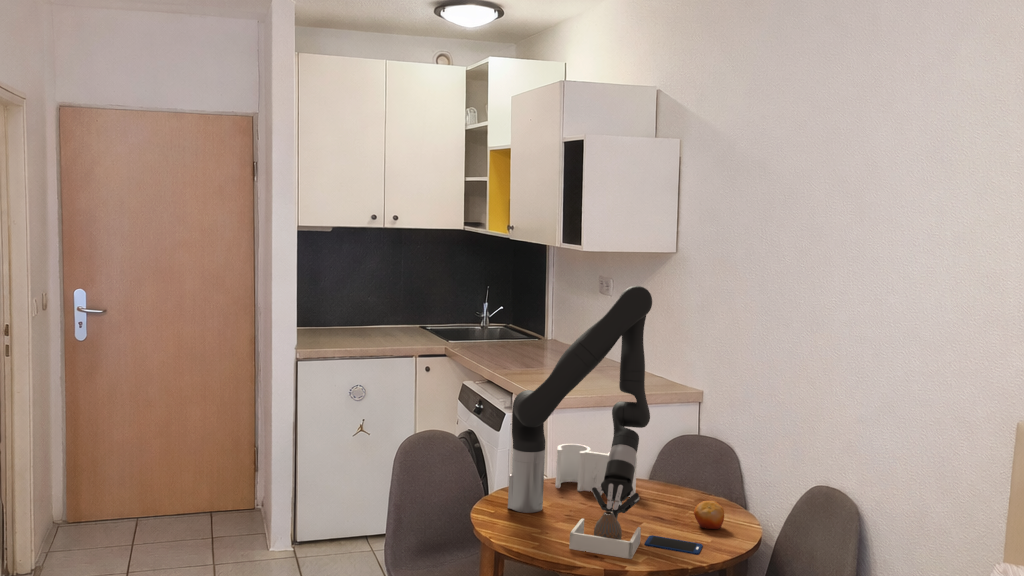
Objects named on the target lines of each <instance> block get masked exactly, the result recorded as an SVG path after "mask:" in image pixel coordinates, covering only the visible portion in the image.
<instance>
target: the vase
mask: <svg viewBox="0 0 1024 576" xmlns="http://www.w3.org/2000/svg"><path fill="white" fill-rule="evenodd" d="M622 531H623V530H622V527H621V523H620V522H619V520H618V518H617V519H616V518H615V516H614V513H613V512H610V511H604V512H603V514H602V516H601V517H600V518H599V519H598V520H597V521H596V522H595V526H594V530H593V536H599V537H606V538H612V539H618V540H622V538H623V537H622V535H623V533H622Z"/></svg>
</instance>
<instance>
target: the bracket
mask: <svg viewBox="0 0 1024 576" xmlns="http://www.w3.org/2000/svg"><path fill="white" fill-rule="evenodd" d="M609 453H610V451H608V453H606V452H605V453H604V452H597V451H592V450H591V447H589V446H588V445H584V444H579V443H563V444H559V445H557V449H556V461H555V462H556V465H555V466H556V467H555V484H554V485H555V486H554V488H557V489H560V488H561V486H562V485H561V484H562V483H567V482H568V483H571V482H572V483H577V489H576V490H577V492H584V491H585V492H590V491H591V493H593V491H592V488H594V487H595V488H598V487H600V486H601V483H602V482H603V481H604V477H605V472H606V467H607V462H608V457H609ZM637 464H638V455H637V456H636V468H635V472H634V478H633V483H632V487H633V491H634V492H635V493H636V488H637V487H636V486H637V468H638V467H637V466H638V465H637ZM603 493H604V492H603V490H602V494H603ZM628 497H630V496H628Z"/></svg>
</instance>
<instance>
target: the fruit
mask: <svg viewBox="0 0 1024 576" xmlns="http://www.w3.org/2000/svg"><path fill="white" fill-rule="evenodd" d="M693 514H694V517H695V519H696V522H697V524H698V525H699V527H700V528H702V529H707V530H718V529H720V528H722V525H723V523H724V520H725V510H724V508H723V506H722V505H720V503H718V502H717V501H716V500H704V501H700V503H697V505H695V507H694V511H693Z"/></svg>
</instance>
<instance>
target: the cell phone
mask: <svg viewBox="0 0 1024 576" xmlns="http://www.w3.org/2000/svg"><path fill="white" fill-rule="evenodd" d="M643 545H644V546H646V547H650V548H658V549H662V550H668V551H673V552H680V553H684V554H688V555H689V554H690V555H698V556H699V555H700V554H701V552H702V549H703V544H702V543H697V542H693V541H687V540H682V539H675V538H670V537H665V536H664V537H663V536H661V535H660V536H659V535H653V534H652V535H649V536H648V537H647V538H646V540H645V542H644V543H643Z"/></svg>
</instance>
